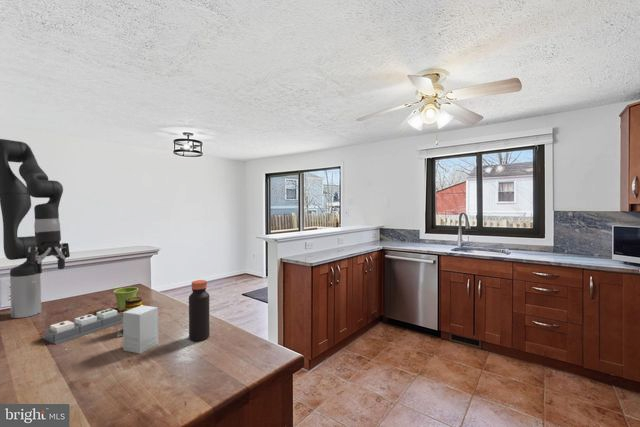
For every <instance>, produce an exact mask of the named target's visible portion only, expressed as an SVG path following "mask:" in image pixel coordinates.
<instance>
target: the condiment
mask: <svg viewBox="0 0 640 427" xmlns="http://www.w3.org/2000/svg"><path fill="white" fill-rule="evenodd" d="M125 303H126V304H125V308H124V310H123V312H125V311H128V310H131V309H133V308H136V307H139V306H142V305H143V298H142V297H140V296H136V297H133V298H129V299H127V300H126V301H125ZM116 332H117V336H116V337H117V338H118V337H123V328H117V331H116Z"/></svg>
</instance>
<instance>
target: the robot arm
mask: <svg viewBox="0 0 640 427" xmlns="http://www.w3.org/2000/svg"><path fill="white" fill-rule="evenodd" d="M9 163H17V164H18V163H20V166H19V168H18V173H19V175H20V177H21V179H23V181H25V183H24V182H22V180H20V179H19V177H17V175H16V174H15V173H14V171H13V170H12V169H11V165H10V164H9ZM25 184H26V185H25ZM63 191H64V187H63V185H62V183H61V182H59V181H57V180H49V177H48V175H47V174H46V172H45V171H44V170H43V169H42V168H41V167H40V165H39V164H38V161H37V159H36V156H35V155H34V152H33V151H32V148H31V146H29V144H27V143H26V142H23V141H18V140H12V139H11V140H10V139H6V138H5V139H4V138H0V210H1V216H2V217H1V218H2V230H3V233H2V234H3V244H2V245H3V252H4V256H5V258H6V259H8V260H10V261H13V260H14V261H15V260H21V259H22V260H23V259H26V260H24V262H23V263H21V264H19V265H17V266H15V267H12V268H11V269H10V270H9V275H10V276H9V279H10V280H9V281H10V282H9V284H10V285H9V286H10V290H9V291H10V318H12V319H22V318H27V317H28V318H29V317H31V316H36V315H38V313H39V314H40V313H41V312H42V282H41V281H42V278H41V275H42V273H43V269H42V268H43V267H42V266H43V265H42V261H43V260H44V259H46V257H50V256H52V257H55V258H56V259H57V269H58V270H63V269H65V266H66V262H65V261H66V259H67V258H70V256H71V254H70V249H69V243H67V242H63V243H62V242H61V240H62V235H61V234H62V233H61V232H62V231H61V223H60V217H59V216H60V214H59V213H60V212H59V207H60V203H61V199H62V196H63V193H64V192H63ZM31 197H32V198H34V199H35V198H37V199H41V198H42V199H48V201H47V202H46V203H38V204H36V205H34V208H33V211H34V224H33V226H34V227H33V228H34V235H29V236H18V229H19V226H20V224H21V222H22V221H23V219H24V218H25V216H26V215H27V214H28V213H29V211H30V210H31V208H32V198H31ZM60 242H61V243H60Z"/></svg>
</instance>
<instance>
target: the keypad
mask: <svg viewBox="0 0 640 427" xmlns="http://www.w3.org/2000/svg"><path fill="white" fill-rule="evenodd" d="M95 316H97V314H96V315H95ZM72 322H73V323H74V328H72V329H69V330H66V331H62V332H59V333H54V332H52V331H50V328H48V329H45V330H44V335H43V336H42V337H41V338H42V339H43V340H46V341H47V342H49V343H51V344H54V345H60V344H62V343H65V342H67V341H70V340H74V339H76V338H80V337H82V336H85V335H89V334H92V333H94V332H95V333H96V332H98V331H101V330H103V329H106V328H108V329H109V328H110V327H113V326H116V325H120V324H123V313H119V312H117V315H115V316H112V317H109V318H105V319H101V318H98V317H97V321H95V322H92V323H89V324H85V325H82V326H80V325H77V324H75V321H72Z"/></svg>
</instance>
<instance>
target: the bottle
mask: <svg viewBox="0 0 640 427" xmlns="http://www.w3.org/2000/svg"><path fill="white" fill-rule="evenodd" d="M207 285H208V283H207V280H206V279H205V280H204V279H198V280H194V281H191V291H192V293H190V295H189V296H188V339H189V341H191V342H201V340H202V341H205V340H207V339H208V338H209V337H210V294H209V292H207V291H206V290H207V288H208V287H207Z"/></svg>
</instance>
